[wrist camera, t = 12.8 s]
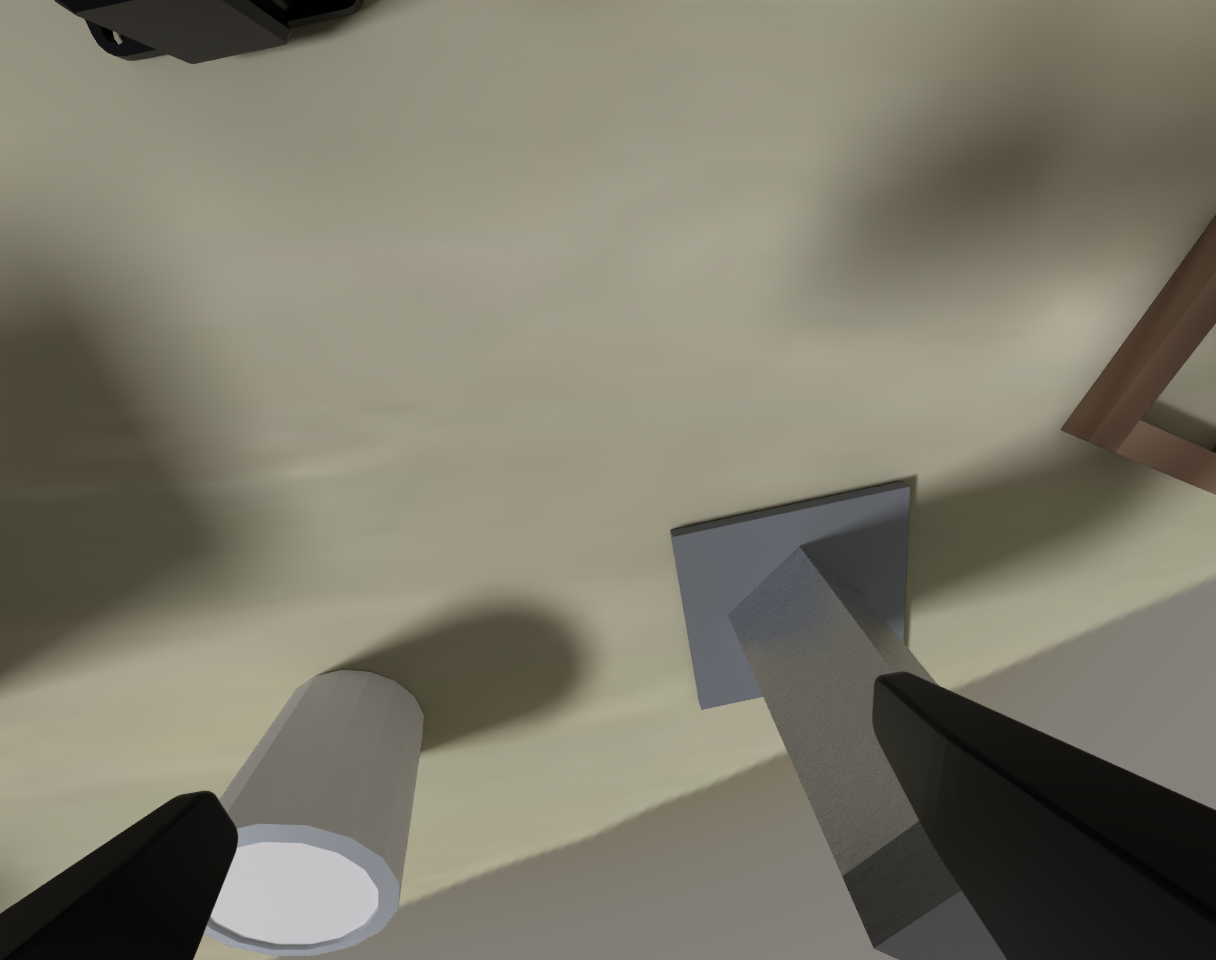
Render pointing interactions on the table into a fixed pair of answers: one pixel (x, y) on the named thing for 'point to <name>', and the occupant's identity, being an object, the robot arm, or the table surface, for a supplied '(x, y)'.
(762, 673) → the grey tall block
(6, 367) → the table surface
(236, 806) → the white cup
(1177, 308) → the socket
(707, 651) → the mat
